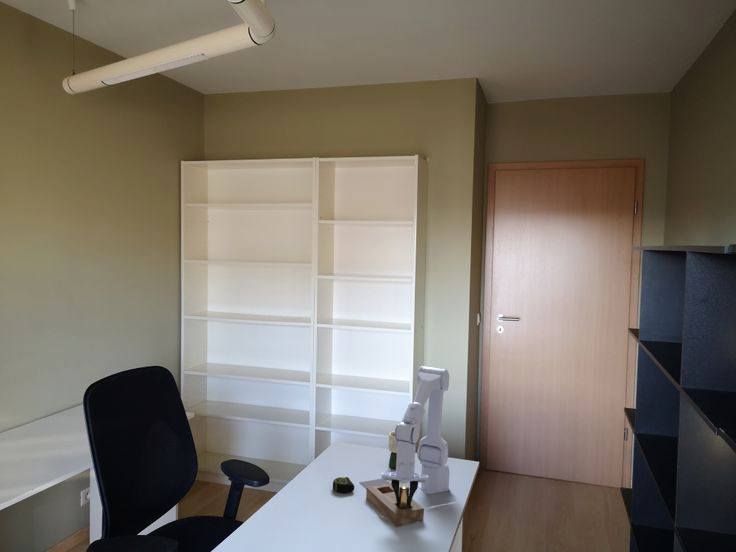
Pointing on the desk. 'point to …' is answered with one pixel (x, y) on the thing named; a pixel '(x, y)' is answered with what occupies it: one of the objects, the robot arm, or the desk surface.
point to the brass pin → (403, 497)
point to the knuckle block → (393, 506)
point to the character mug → (392, 450)
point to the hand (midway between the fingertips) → (403, 503)
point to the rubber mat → (373, 483)
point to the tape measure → (343, 485)
